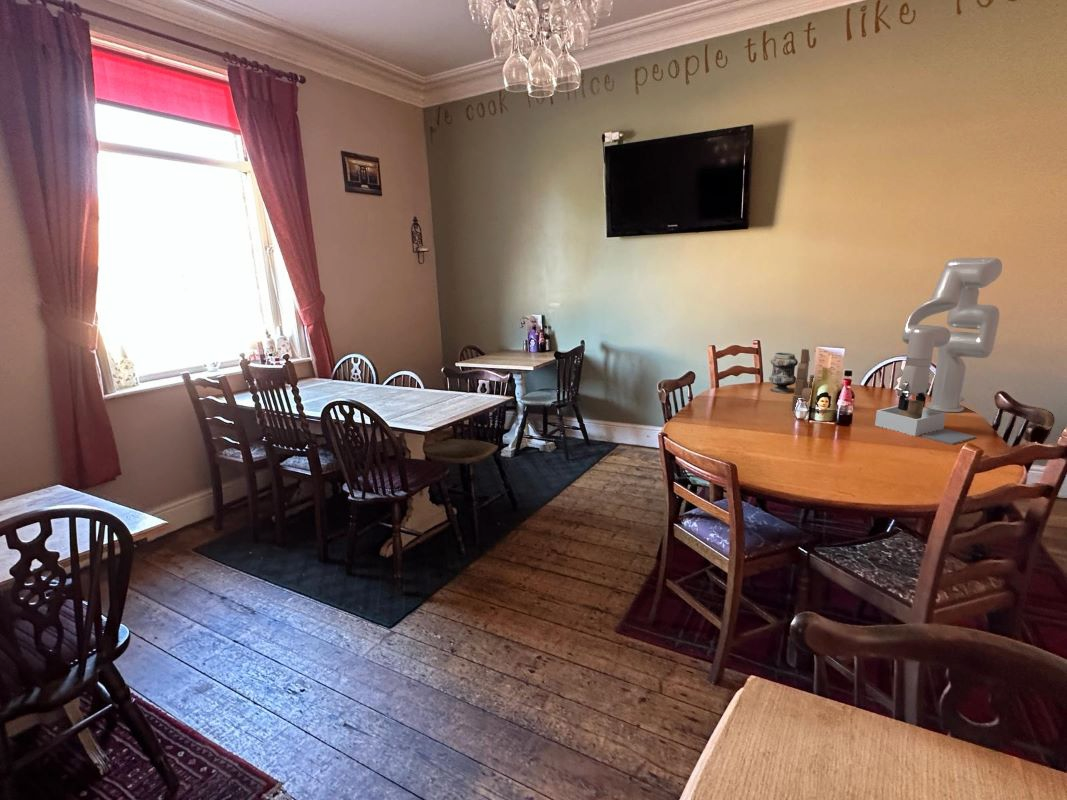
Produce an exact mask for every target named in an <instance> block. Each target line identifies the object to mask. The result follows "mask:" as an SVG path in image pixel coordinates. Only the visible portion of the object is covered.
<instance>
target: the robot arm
mask: <svg viewBox="0 0 1067 800" xmlns="http://www.w3.org/2000/svg"><path fill="white" fill-rule="evenodd" d="M943 268H944V269H942V271H941V273H940V274H939V277H938V281H937V283H936V286H935V288H934V289H933V290H934V291H933V292H932V295H931V298H930V299H929V300H927V301H925V302H924V303H922V304H921V305H919V306H918V307H917V308H916V309H914V310H912V312H911V313H910V315H909V316H908V318H907V320H906V322H905V325H904V328H903V330H902V334H901V338H902V342H903V343H905V345H906V344H907V350H906V352H907V353H906V359H905V366H904V367H903V370H902V372H901V373H902V374H901V377H900V381H899V385H898V388H897V396H898V405H897V406H898V409H900V410H904V411H907V410H908V405H909V400H908V399H910V398H911V396H912V395H915V399H914V400H917V401H922V402H924V405H923V408H926V409H929V410H934V411H938V412H943V413H961V412H963V411H964V409H965V407H964V406H963V405H961V403H962V402H965V400H966V399H965V397H964V396H962V393H963V389H964V381H965V377H966V370H967V366H966V363H965V362H964V360H963V358H962V357H964V358H965V357H966V358H974V359H987V358H989V357H990V355H991V354H992V352H993V349H994V346H995V341H996V336H997V332H998V331H997V330H998V327H999V322H1000V310H999V308H998V307H997V306H995V305H992V304H980V303H979V304H978V300H979V295H980V289H982V288H986V287H988V286H989V285H991V284H992V283H993V282H995V281H996V280H997V279H998V278H999V277H1000V276H1001V273H1002V272H1003V263H1002V260H1001V259H999V258H998V257H961V258H960V257H959V258H953V259H949V260H948V261H946V262H945V264H944V267H943ZM944 312H947V315H946V316H947V317H946V324H947V325H948V326H949V327H951V328H956V329H967V330H978V331H979V332H969V331H956V330H955V331H950V330H949V329H948V328H947V327H945V326H939V325H929V324H927V325H926V324H920V323H921V322H922V321H923V320H924V319H926V318H928V317H930V316H934V315H938V314H941V313H944ZM935 348H937V360H936V367H935V374H934V379H933V387H932V392H931V393H932V394H931V399H930V401H928V402H926V400H927V399H926V398H927V396H928V393H929V392H930V387H931V383H930V377H931V376H930V375H931V374H930V373H931V372H930V371H931V365H932V361H933V359H932V358H933V356H934V355H933V354H934V349H935Z"/></svg>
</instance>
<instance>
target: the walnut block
mask: <svg viewBox="0 0 1067 800" xmlns="http://www.w3.org/2000/svg"><path fill="white" fill-rule="evenodd" d="M908 400H909V405H908V410H907V411H904V410H900V413H899V415H901V416H905V417H909V418H914V419H919V418H921V417H922V411H923V408H924V407H923V405H924V402H922V401H917V400H915V399H912V398H909V399H908Z"/></svg>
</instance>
